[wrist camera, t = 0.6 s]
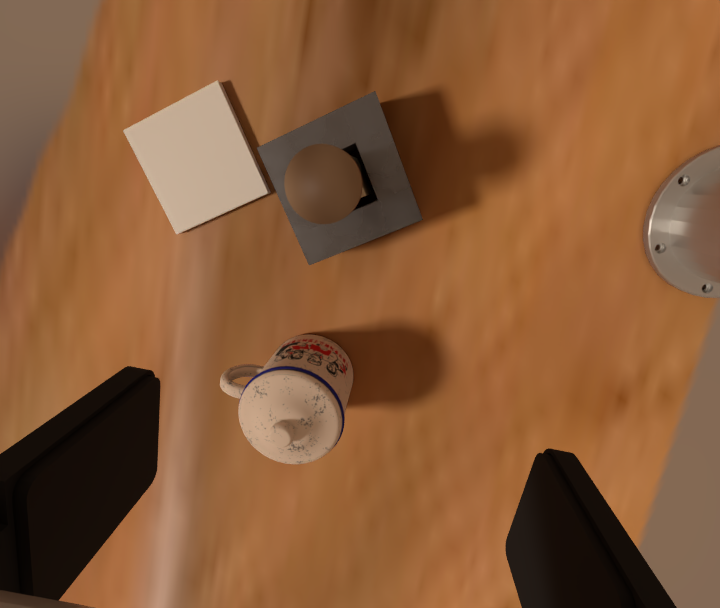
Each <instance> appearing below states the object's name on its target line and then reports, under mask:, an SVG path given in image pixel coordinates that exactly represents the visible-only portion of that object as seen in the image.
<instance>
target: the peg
mask: <svg viewBox="0 0 720 608" xmlns="http://www.w3.org/2000/svg"><path fill="white" fill-rule="evenodd" d="M284 186H285V192H286V196H287V199H288V201H289V203H290V205H291V206H292V208H293V209H294V210H295V212H296V213H297V214H298V215H300V216H301V217H302V218H304V219H305V220H307V221H310V222H312V223H316V224H331V223H335V222H338V221H340V220H342V219H343V218H345V217H346V216H348V215H349V214H350V213H351V212H352V211H353V210H354V209H355V208H356V206H357V204H358V203H359V200H360V198H362V197H364V196H367V195H369V194H371V190H370V187H369V185H368V182H367V180H366V177H365V175H364V172H363V170H362V167H361V165H360V162H359V159H358V158H355V157H353V156H351V155H349V154H348V153H347V152H345V151H344V150H342V149H340V148H338V147H335V146H332V145H328V144H315V145H311V146H308V147H306V148H304V149H302V150H301V151H299V152H298V153H297V154H296V155H295V156H294V157H293V158H292V160H291V161H290V163H289V165H288V167H287V170H286V173H285V180H284Z"/></svg>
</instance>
